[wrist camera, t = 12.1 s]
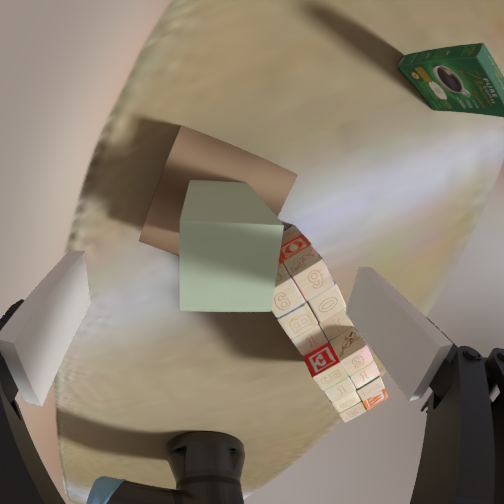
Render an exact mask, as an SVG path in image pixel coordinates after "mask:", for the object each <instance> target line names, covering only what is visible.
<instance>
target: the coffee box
mask: <svg viewBox="0 0 504 504" xmlns="http://www.w3.org/2000/svg"><path fill="white" fill-rule="evenodd" d="M398 68H399V69H400V71H401V72H402V73H403V74H404V75H405V77H406V78H407V79H408V80H409V81H410V82H411V83H412V84H413V85H414V86H415V88H416V89H417V90H418V91H419V92H420V94H421V95H422V96H423V97H424V99H425V100H426V101H427V103H428V104H429V105H430V106H431V107H432V109H433V110H437V111H453V112H466V113H475V114H484V115H492V116H499V117H504V77H503V75H502V73H501V72H500V70H499V68H498V66H497V64H496V63H495V61H494V59H493V58H492V56H491V54H490V53H489V51H488V49H487V48H486V46H485V44H484V43H478V44H469V45H459V46H452V47H445V48H439V49H433V50H427V51H422V52H417V53H412V54H408V55H405V56H404V57H403V59H402V60H401V61H400V63H399V64H398Z"/></svg>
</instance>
